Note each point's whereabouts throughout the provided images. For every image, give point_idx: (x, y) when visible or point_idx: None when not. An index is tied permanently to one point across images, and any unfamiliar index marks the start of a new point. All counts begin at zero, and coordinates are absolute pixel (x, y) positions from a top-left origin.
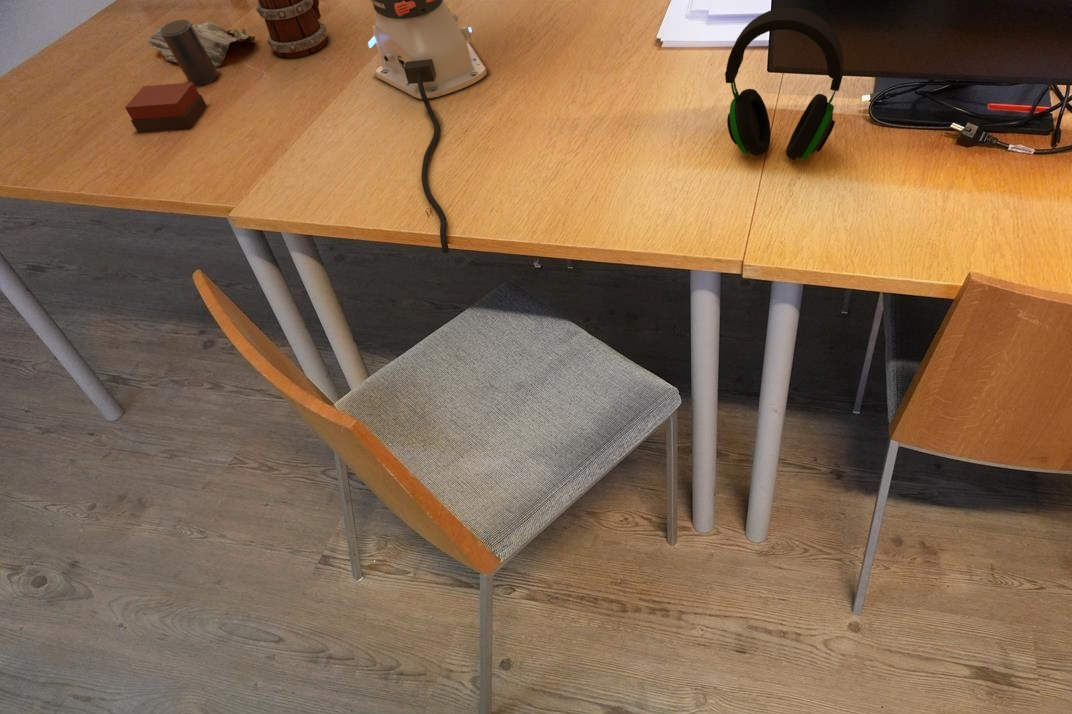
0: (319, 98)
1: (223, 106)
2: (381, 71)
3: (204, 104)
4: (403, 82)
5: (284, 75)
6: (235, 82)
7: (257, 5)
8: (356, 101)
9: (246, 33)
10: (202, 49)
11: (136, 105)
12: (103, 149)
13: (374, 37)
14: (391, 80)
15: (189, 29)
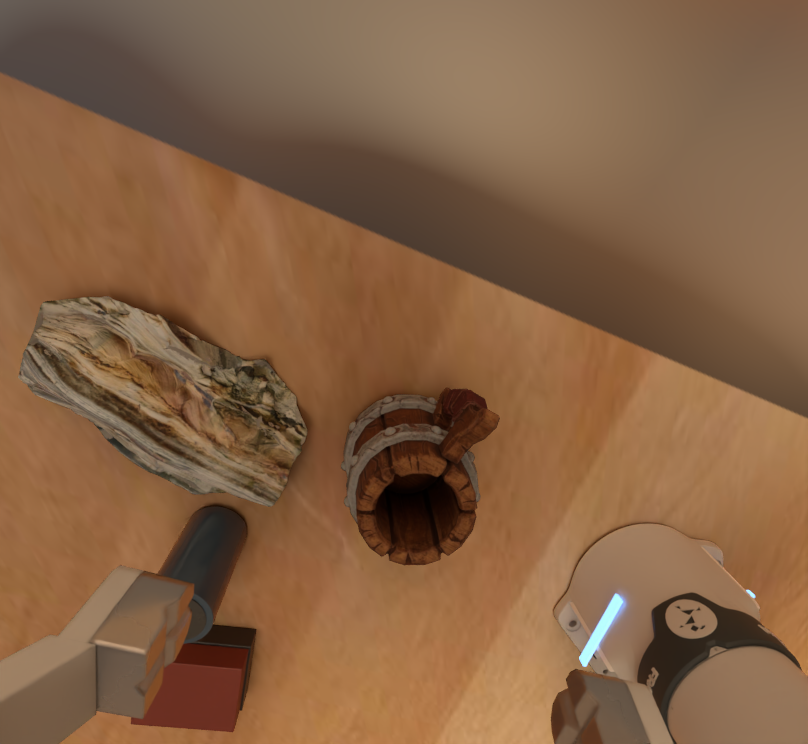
0: (457, 650)
1: (288, 636)
2: (567, 621)
3: (254, 637)
4: (599, 664)
5: (385, 559)
6: (290, 559)
7: (349, 502)
8: (517, 673)
9: (269, 365)
10: (230, 576)
11: (153, 722)
12: (106, 715)
13: (596, 649)
14: (581, 653)
15: (213, 622)
